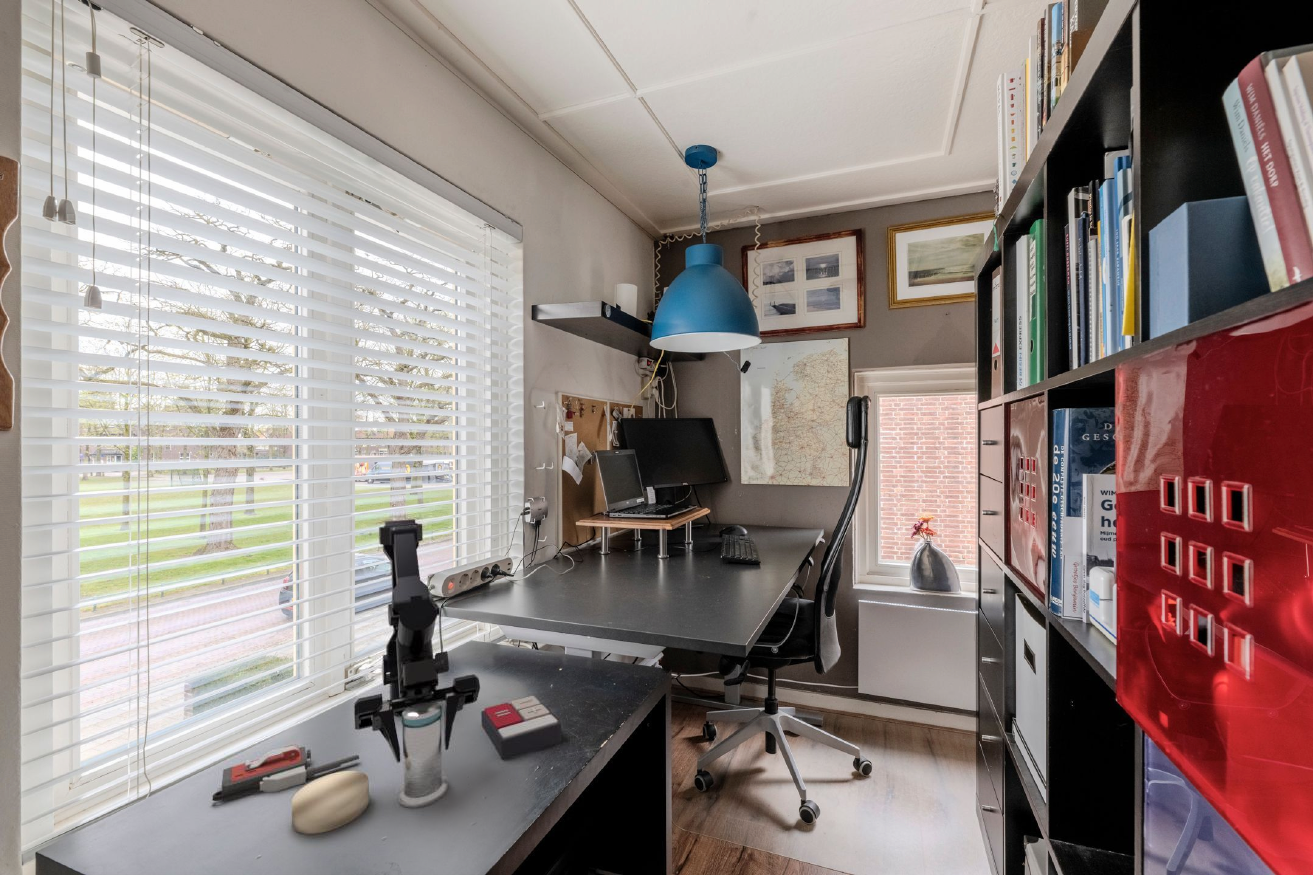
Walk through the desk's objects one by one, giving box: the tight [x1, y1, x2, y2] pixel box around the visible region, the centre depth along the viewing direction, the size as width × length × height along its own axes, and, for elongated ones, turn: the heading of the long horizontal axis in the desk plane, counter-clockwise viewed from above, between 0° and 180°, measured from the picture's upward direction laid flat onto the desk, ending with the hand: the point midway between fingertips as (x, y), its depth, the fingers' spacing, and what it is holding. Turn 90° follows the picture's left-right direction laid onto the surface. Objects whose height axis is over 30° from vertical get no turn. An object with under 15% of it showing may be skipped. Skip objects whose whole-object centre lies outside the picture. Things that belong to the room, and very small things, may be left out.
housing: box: [397, 702, 449, 809], centre depth 87 cm, size 7×7×13 cm
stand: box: [291, 770, 370, 835], centre depth 83 cm, size 10×10×3 cm
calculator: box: [480, 695, 562, 761], centre depth 105 cm, size 11×4×15 cm
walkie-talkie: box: [211, 744, 360, 802], centre depth 93 cm, size 9×4×20 cm
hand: (423, 755), depth 86 cm, fingers open, 7 cm apart
